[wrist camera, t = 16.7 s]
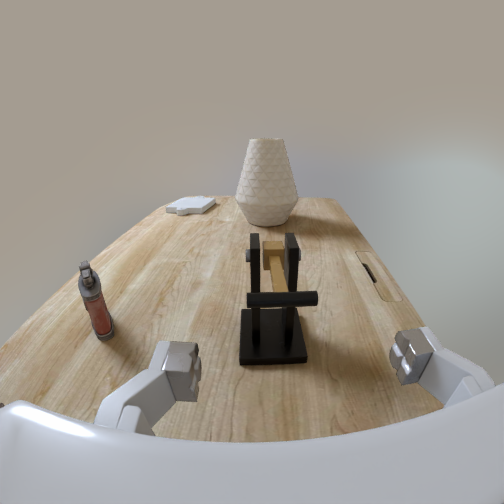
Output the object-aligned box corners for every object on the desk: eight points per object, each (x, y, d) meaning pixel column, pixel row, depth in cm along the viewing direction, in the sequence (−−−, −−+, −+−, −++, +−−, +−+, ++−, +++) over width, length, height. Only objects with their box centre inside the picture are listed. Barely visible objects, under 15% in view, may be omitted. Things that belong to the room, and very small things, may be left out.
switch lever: (316, 315, 22) (319, 288, 21) (247, 317, 22) (246, 290, 21) (295, 260, 33) (296, 240, 32) (248, 261, 33) (248, 241, 32)
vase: (256, 235, 70) (255, 140, 60) (225, 217, 84) (222, 139, 74) (310, 223, 78) (312, 140, 68) (274, 208, 92) (274, 137, 82)
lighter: (90, 313, 40) (72, 258, 36) (108, 308, 42) (93, 253, 38) (96, 343, 34) (74, 282, 30) (117, 336, 36) (98, 275, 31)
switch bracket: (306, 362, 32) (319, 259, 26) (239, 365, 32) (233, 261, 26) (296, 314, 41) (302, 224, 35) (241, 315, 41) (238, 225, 35)
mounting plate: (185, 200, 104) (185, 195, 104) (218, 201, 102) (217, 196, 101) (162, 214, 89) (161, 209, 88) (198, 216, 86) (198, 210, 85)
